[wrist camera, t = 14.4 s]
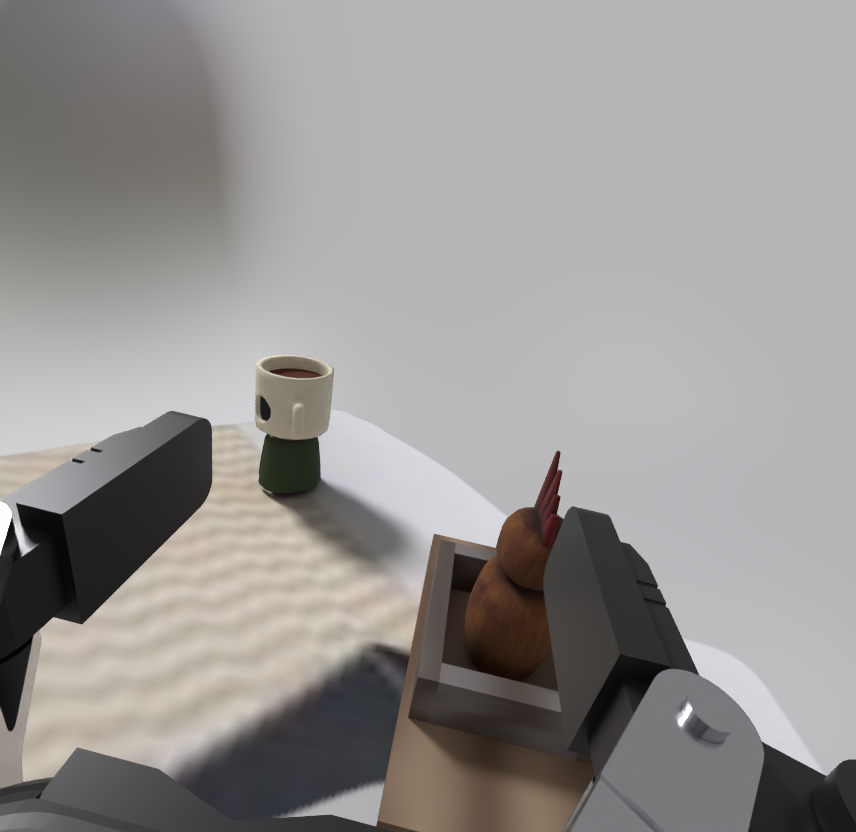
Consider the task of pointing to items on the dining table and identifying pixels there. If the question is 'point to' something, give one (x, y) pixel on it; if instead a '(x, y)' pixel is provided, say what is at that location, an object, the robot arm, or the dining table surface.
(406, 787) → the socket stand
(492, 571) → the wooden figurine
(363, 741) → the dining table surface
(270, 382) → the character mug
